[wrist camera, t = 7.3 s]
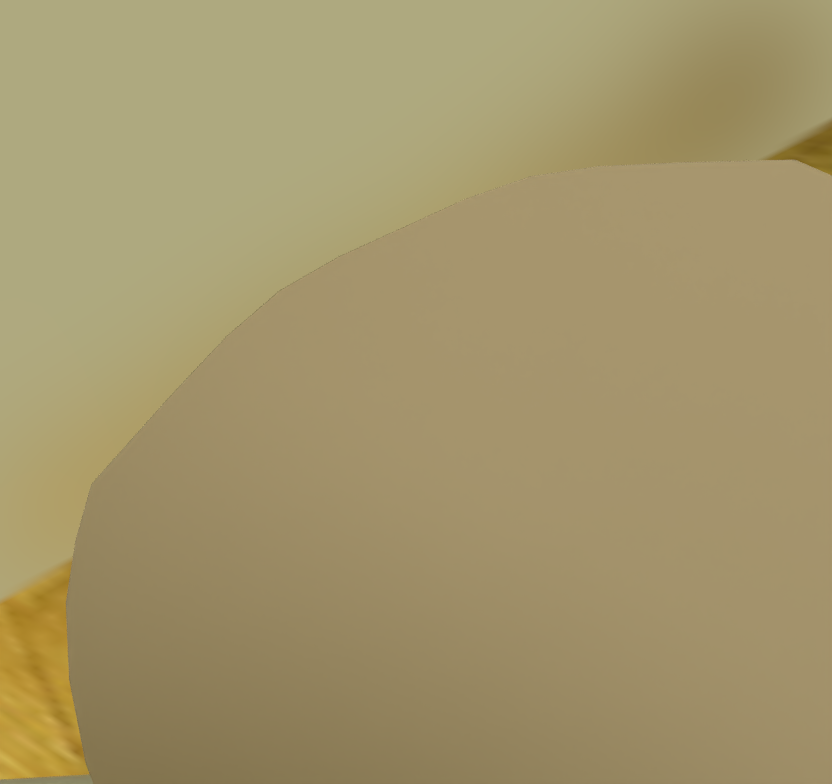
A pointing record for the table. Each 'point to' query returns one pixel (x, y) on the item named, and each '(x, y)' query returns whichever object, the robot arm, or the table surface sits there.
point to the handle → (490, 506)
